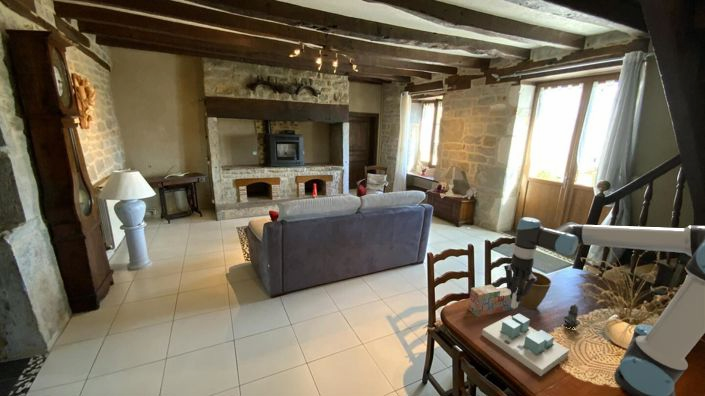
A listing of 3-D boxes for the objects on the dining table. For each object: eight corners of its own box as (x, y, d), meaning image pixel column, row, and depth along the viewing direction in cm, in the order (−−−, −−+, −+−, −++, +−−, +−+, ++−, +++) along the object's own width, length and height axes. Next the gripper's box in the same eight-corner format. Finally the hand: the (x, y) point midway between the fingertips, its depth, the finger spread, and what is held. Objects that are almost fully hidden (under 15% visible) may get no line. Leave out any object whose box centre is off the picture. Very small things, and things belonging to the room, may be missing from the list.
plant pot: (506, 298, 156) (510, 271, 152) (529, 295, 158) (534, 269, 155) (527, 315, 141) (532, 286, 138) (553, 312, 144) (559, 283, 140)
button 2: (528, 329, 127) (530, 319, 126) (521, 333, 125) (523, 323, 124) (517, 322, 131) (518, 313, 130) (510, 326, 129) (512, 316, 128)
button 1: (518, 334, 124) (520, 324, 123) (511, 338, 121) (513, 328, 120) (507, 327, 128) (509, 318, 127) (500, 331, 126) (502, 321, 124)
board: (567, 356, 117) (569, 349, 116) (540, 376, 107) (542, 368, 106) (509, 320, 138) (510, 314, 137) (481, 334, 128) (482, 328, 127)
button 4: (551, 347, 119) (554, 337, 118) (545, 351, 117) (547, 341, 116) (539, 339, 123) (541, 329, 122) (532, 343, 121) (534, 333, 120)
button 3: (543, 350, 115) (545, 339, 114) (536, 354, 113) (538, 343, 112) (530, 342, 120) (532, 331, 118) (523, 346, 117) (525, 335, 116)
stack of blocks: (502, 302, 152) (506, 281, 149) (512, 310, 146) (515, 288, 143) (467, 309, 146) (470, 287, 143) (476, 316, 140) (479, 294, 137)
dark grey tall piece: (580, 332, 131) (586, 308, 128) (566, 330, 132) (571, 307, 129) (573, 323, 136) (578, 301, 133) (559, 321, 137) (564, 299, 134)
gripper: (545, 260, 112) (534, 312, 118) (513, 247, 123) (505, 296, 129) (534, 264, 109) (524, 318, 114) (502, 251, 120) (494, 301, 125)
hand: (514, 306), depth 122 cm, fingers closed
